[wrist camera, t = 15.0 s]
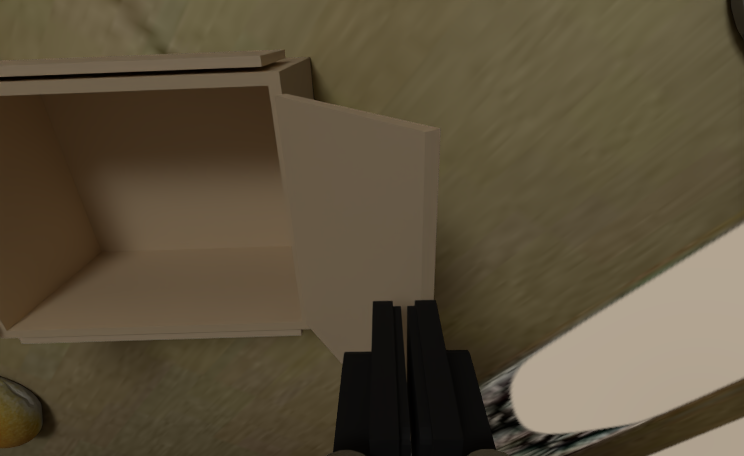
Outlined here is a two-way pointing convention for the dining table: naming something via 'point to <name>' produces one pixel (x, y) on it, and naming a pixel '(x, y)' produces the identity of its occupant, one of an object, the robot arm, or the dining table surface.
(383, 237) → the flap
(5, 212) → the carton
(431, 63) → the dining table surface
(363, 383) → the robot arm
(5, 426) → the bread roll
